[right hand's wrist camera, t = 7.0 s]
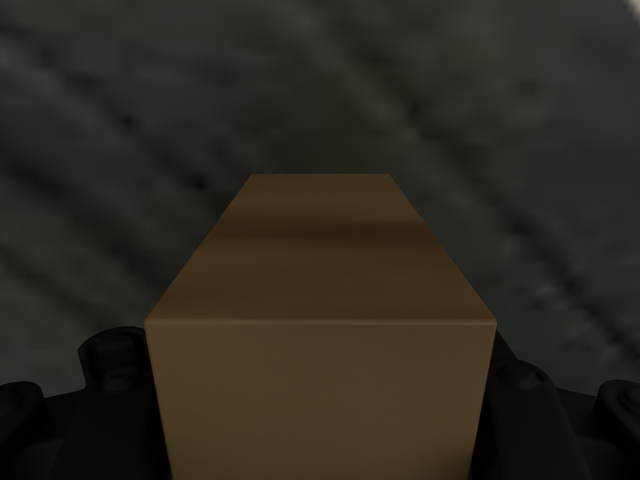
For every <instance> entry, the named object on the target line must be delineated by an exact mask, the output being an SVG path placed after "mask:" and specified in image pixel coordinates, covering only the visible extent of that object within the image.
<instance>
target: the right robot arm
mask: <svg viewBox="0 0 640 480" xmlns="http://www.w3.org/2000/svg"><path fill="white" fill-rule="evenodd" d="M78 354H79V358H80V362H81V365H82V369H83V373H84V377H85V381H86V386H85V389H82V390H79V391H75V392H71V393H66V394H62V395H57V396H52V397H48V398H44V396H43V393H42V390H41V387H39V386H38V385H37V384H36V383H33V382H26V381H21V382H13V383H8V384H4V385H0V480H171V479H172V475H171V469H170V464H169V458H168V453H167V448H166V442H165V437H164V431H163V426H162V420H161V415H160V409H159V404H158V399H157V393H156V388H155V382H154V377H153V371H152V366H151V361H150V355H149V350H148V344H147V339H146V333H145V330H144V329H143V328H139V327H135V326H124V327H117V328H112V329H108V330H105V331H103V332H100V333H98V334H95V335H94V336H92V337H91V338H89V339H88V340H86V341H85V342H83V344H82V345H81V346H80V347H79V349H78ZM468 480H640V384H639V383H636V382H632V381H626V380H618V379H617V380H610V381H606V382H604V383H603V384H602V385H601V386H600V388H599V391H598V394H597V397H596V396H591V395H587V394H582V393H577V392H573V391H568V390H564V389H561V388H557V387H555V385H554V383H553V382H552V380H551V379H550V378H549V376H548V375H547V374H546V373H545V372H543V371H542V370H541V369H539V368H538V367H536V366H534V365H532V364H530V363H528V362H525V361H522V360H518V359H517V358H516V356H515V355H514V353H513V352H512V350H511V349H510V348H509V346H508V345H507V343H506V342H505V341H504V339H503V338H502V336H501V335H500V333H499V332H498V331H497V330H496V332H495V337H494V342H493V348H492V353H491V358H490V364H489V369H488V375H487V380H486V385H485V391H484V396H483V401H482V407H481V412H480V417H479V423H478V428H477V434H476V439H475V444H474V450H473V455H472V460H471V466H470V471H469V477H468Z"/></svg>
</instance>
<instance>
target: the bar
mask: <svg viewBox="0 0 640 480" xmlns="http://www.w3.org/2000/svg"><path fill="white" fill-rule="evenodd" d="M496 326H497V322H496V319H495V318H494V316H493V315H492V314H491V312H490V311H489V309H488V308H487V307H486V305H485V304H484V303H483V301H482V300H481V299H480V297H479V296H478V295H477V293H476V292H475V290H474V289H473V288H472V286H471V285H470V284H469V282H468V281H467V280H466V278H465V277H464V276H463V274H462V273H461V272H460V270H459V269H458V267H457V266H456V265H455V263H454V262H453V261H452V259H451V258H450V257H449V255H448V254H447V253H446V251H445V250H444V248H443V247H442V246H441V244H440V243H439V242H438V240H437V239H436V238H435V236H434V235H433V234H432V232H431V231H430V229H429V228H428V227H427V225H426V224H425V223H424V221H423V220H422V219H421V217H420V216H419V215H418V213H417V212H416V210H415V209H414V208H413V206H412V205H411V204H410V202H409V201H408V200H407V198H406V197H405V196H404V194H403V193H402V191H401V190H400V189H399V187H398V186H397V185H396V183H395V182H394V181H393V179H392V178H391V177H390V175H389V174H251V176H250V177H249V178H248V180H247V181H246V183H245V184H244V185H243V187H242V188H241V189H240V191H239V192H238V193H237V195H236V196H235V197H234V199H233V200H232V202H231V203H230V204H229V206H228V207H227V208H226V210H225V211H224V212H223V214H222V215H221V216H220V218H219V219H218V221H217V222H216V223H215V225H214V226H213V227H212V229H211V230H210V231H209V233H208V234H207V235H206V237H205V238H204V240H203V241H202V242H201V244H200V245H199V246H198V248H197V249H196V250H195V252H194V253H193V254H192V256H191V257H190V259H189V260H188V261H187V263H186V264H185V265H184V267H183V268H182V269H181V271H180V272H179V273H178V275H177V276H176V277H175V279H174V280H173V282H172V283H171V284H170V286H169V287H168V288H167V290H166V291H165V292H164V294H163V295H162V296H161V298H160V299H159V301H158V302H157V303H156V305H155V306H154V307H153V309H152V310H151V311H150V313H149V314H148V315H147V317H146V318H145V320H144V328H145V333H146V339H147V344H148V350H149V355H150V361H151V366H152V371H153V377H154V382H155V388H156V393H157V399H158V404H159V409H160V415H161V420H162V426H163V431H164V437H165V442H166V448H167V453H168V458H169V464H170V469H171V475H172V480H468V477H469V471H470V466H471V460H472V455H473V450H474V444H475V439H476V434H477V428H478V423H479V417H480V412H481V407H482V401H483V396H484V391H485V385H486V380H487V375H488V369H489V364H490V358H491V353H492V348H493V342H494V337H495V332H496Z"/></svg>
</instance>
